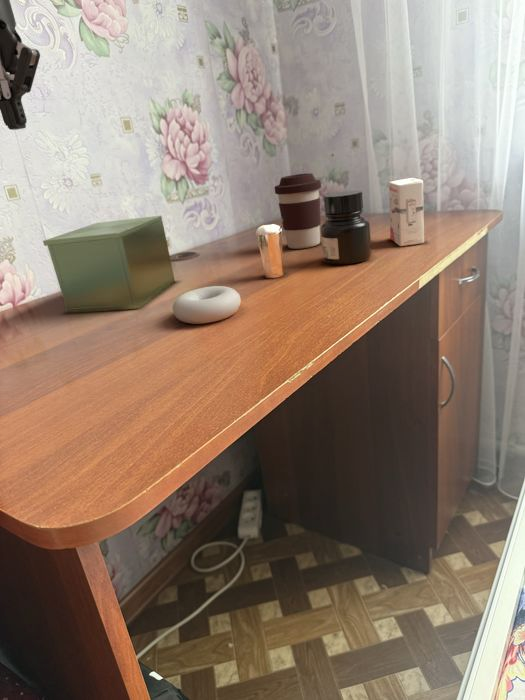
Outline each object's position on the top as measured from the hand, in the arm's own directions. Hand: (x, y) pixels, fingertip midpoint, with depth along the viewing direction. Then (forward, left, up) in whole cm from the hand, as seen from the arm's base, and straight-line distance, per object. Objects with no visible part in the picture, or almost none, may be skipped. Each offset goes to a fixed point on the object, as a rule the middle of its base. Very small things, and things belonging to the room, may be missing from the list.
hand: (17, 128), depth 73 cm
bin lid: (+5, +9, -17) cm, 20 cm away
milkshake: (+32, +16, -29) cm, 46 cm away
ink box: (+55, +36, -29) cm, 72 cm away
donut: (+26, -4, -29) cm, 39 cm away
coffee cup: (+33, +41, -29) cm, 60 cm away
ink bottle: (+44, +24, -29) cm, 58 cm away
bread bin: (+5, +9, -29) cm, 31 cm away
